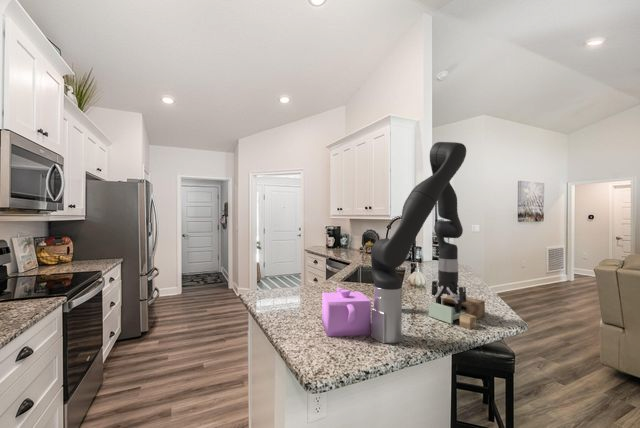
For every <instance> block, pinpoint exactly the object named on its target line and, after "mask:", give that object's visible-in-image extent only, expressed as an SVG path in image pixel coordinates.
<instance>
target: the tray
mask: <svg viewBox="0 0 640 428" xmlns="http://www.w3.org/2000/svg"><path fill="white" fill-rule="evenodd" d="M448 306H449V305H448ZM448 306H445V305H442V303H441V304H438V303H436V301H435V302H434V301H428V317H431V318H434V319H436V320H440V321H442V322H445V323H447V324H452V325H453V323H454V321H455V320H457V319H458V320H460V315H462V314H466V310H462V309H461V311H460V312H459V313H457V314H456V315H453V308H455V307H453V308H451V307H452V306H449V307H448Z"/></svg>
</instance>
